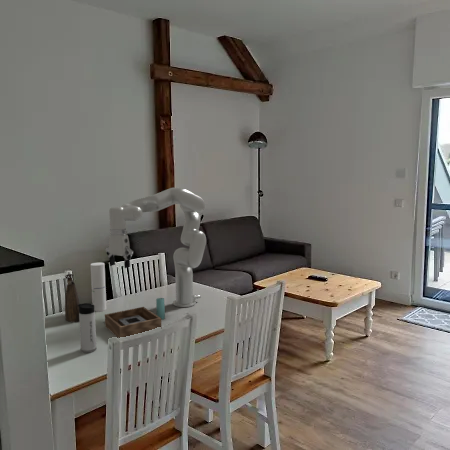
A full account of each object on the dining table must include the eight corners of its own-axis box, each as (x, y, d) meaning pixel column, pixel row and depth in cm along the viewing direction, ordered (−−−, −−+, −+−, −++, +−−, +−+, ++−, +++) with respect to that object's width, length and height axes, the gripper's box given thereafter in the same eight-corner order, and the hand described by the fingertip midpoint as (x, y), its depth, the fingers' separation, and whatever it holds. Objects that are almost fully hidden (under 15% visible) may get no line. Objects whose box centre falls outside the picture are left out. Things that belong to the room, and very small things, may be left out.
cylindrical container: (102, 312, 232) (100, 265, 228) (90, 311, 233) (87, 265, 229) (108, 307, 238) (106, 262, 235) (96, 306, 240) (94, 262, 236)
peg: (162, 316, 225) (162, 297, 223) (166, 318, 222) (165, 299, 220) (155, 317, 223) (154, 298, 221) (158, 320, 219) (158, 300, 218)
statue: (62, 322, 216) (60, 272, 214) (67, 317, 224) (66, 269, 221) (79, 322, 216) (78, 272, 214) (84, 317, 224) (83, 269, 222)
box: (143, 318, 222) (143, 306, 221) (161, 330, 206) (161, 318, 205) (105, 326, 211) (104, 314, 210) (120, 340, 195) (120, 327, 194)
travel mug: (82, 347, 188) (79, 302, 185) (97, 346, 188) (95, 301, 185) (78, 353, 181) (76, 306, 179) (94, 352, 182) (92, 306, 179)
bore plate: (138, 320, 216) (138, 315, 215) (147, 327, 207) (147, 321, 207) (118, 325, 210) (118, 319, 209) (126, 332, 201) (126, 326, 201)
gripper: (137, 232, 213) (138, 266, 215) (110, 229, 221) (112, 262, 224) (126, 234, 206) (127, 270, 209) (99, 232, 215) (101, 266, 217)
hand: (119, 266), depth 216 cm, fingers open, 9 cm apart
